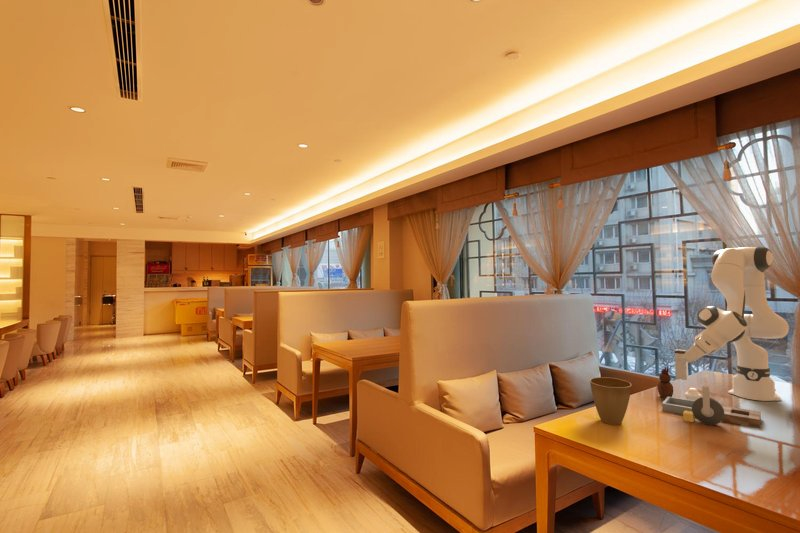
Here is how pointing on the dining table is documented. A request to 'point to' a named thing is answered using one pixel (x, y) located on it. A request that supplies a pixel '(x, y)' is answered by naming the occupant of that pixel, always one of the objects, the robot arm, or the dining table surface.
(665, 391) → the wooden figurine
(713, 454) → the dining table surface
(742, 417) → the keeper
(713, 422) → the grey disc with lever
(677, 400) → the tray
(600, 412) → the plant pot
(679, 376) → the pin
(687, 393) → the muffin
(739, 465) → the dining table surface
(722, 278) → the robot arm
